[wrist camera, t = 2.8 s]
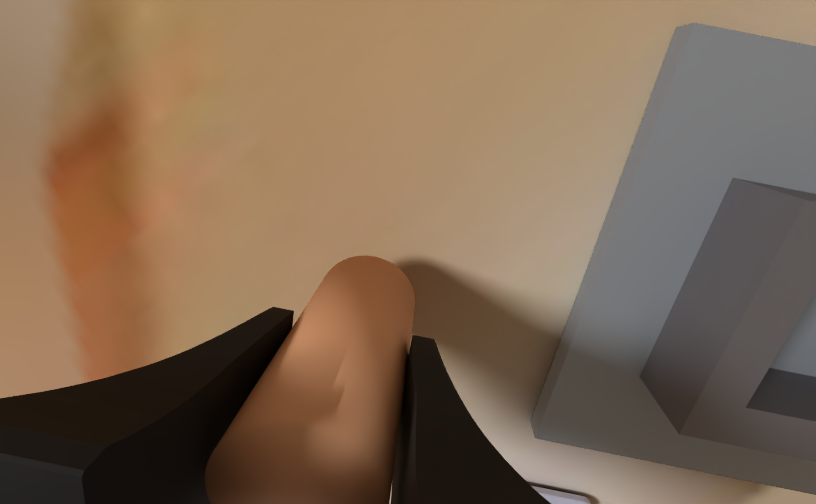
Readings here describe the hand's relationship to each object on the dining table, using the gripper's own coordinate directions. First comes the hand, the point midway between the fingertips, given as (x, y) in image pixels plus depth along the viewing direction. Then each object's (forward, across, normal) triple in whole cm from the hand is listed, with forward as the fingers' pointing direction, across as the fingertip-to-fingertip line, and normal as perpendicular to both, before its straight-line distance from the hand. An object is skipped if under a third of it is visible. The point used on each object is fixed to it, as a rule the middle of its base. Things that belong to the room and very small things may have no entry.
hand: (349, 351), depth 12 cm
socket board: (+5, -15, -3) cm, 16 cm away
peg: (+3, 0, 0) cm, 3 cm away
